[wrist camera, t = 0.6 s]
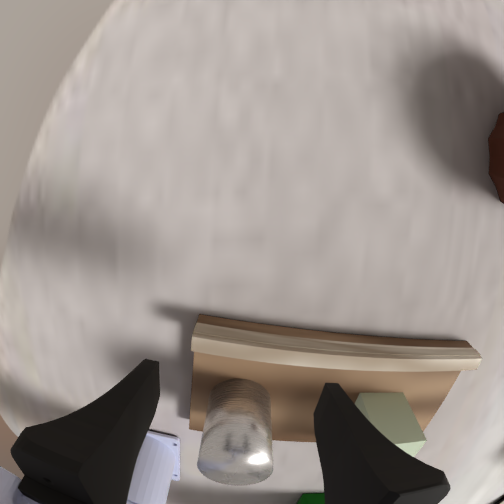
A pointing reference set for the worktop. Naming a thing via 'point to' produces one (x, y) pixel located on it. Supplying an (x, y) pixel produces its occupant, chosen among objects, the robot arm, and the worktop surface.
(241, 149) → the worktop surface
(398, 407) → the tea box
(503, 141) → the muffin
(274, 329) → the shelf board
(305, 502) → the milk carton
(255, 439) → the metal can
